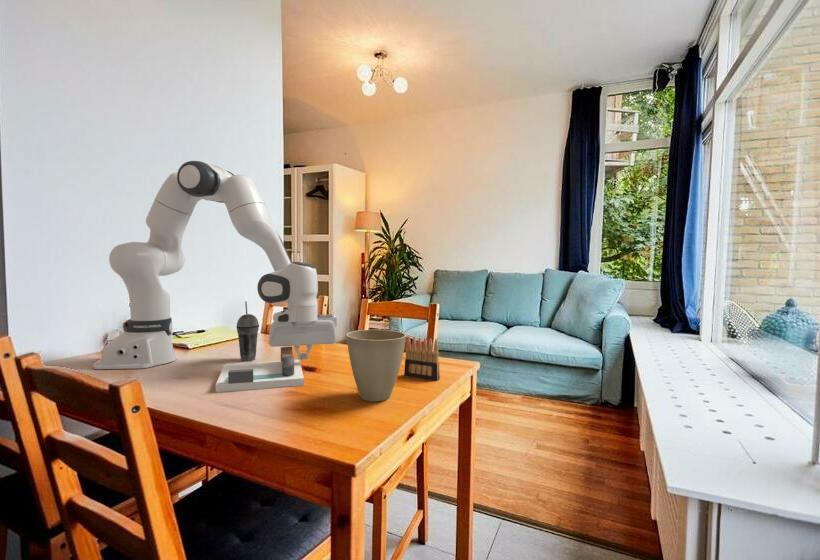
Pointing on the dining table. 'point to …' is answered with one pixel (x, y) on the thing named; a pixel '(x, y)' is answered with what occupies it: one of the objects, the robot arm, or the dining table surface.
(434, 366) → the ammunition clip
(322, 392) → the dining table surface
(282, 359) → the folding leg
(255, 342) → the beverage cup
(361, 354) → the plant pot
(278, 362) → the shallow rectangular tray
